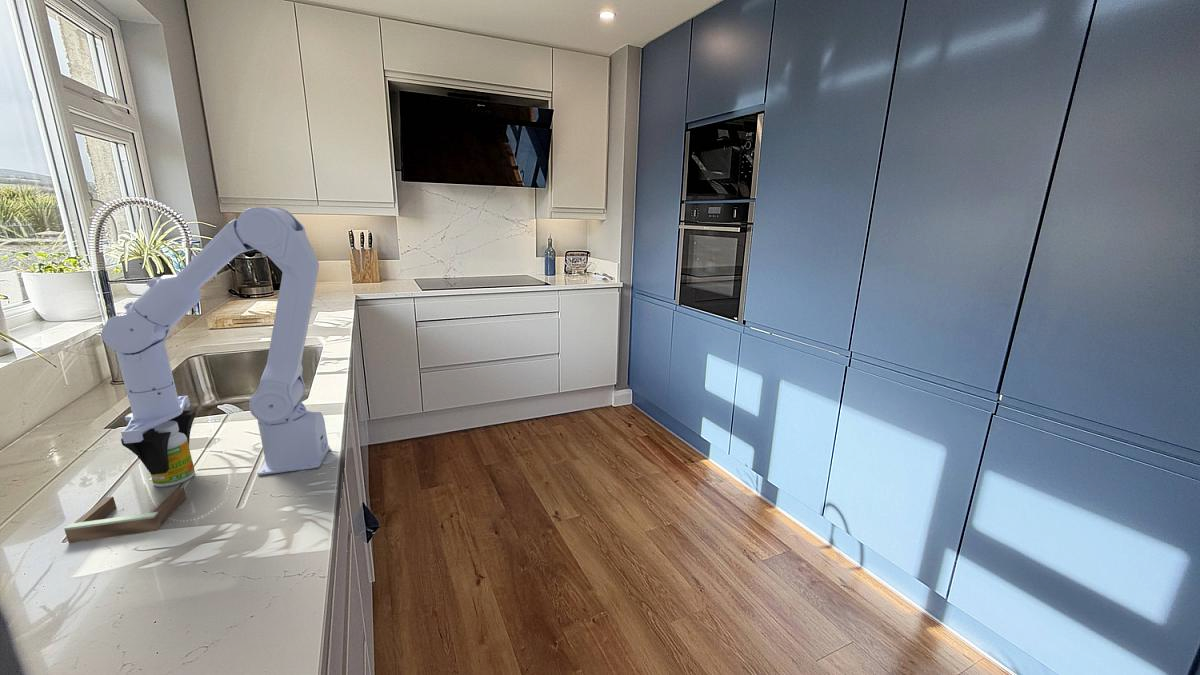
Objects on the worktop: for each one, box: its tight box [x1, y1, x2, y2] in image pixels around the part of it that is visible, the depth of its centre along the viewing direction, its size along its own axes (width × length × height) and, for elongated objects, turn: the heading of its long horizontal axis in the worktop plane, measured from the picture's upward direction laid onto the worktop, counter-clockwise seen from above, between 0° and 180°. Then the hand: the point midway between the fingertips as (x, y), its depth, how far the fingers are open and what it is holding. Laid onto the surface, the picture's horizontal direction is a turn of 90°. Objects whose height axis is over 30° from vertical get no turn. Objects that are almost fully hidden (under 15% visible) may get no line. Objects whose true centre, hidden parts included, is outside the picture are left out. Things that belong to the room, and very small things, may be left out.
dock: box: [64, 487, 188, 544], centre depth 71 cm, size 10×8×2 cm
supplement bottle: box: [150, 421, 196, 488], centre depth 81 cm, size 5×5×10 cm
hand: (170, 463), depth 81 cm, fingers open, 6 cm apart
